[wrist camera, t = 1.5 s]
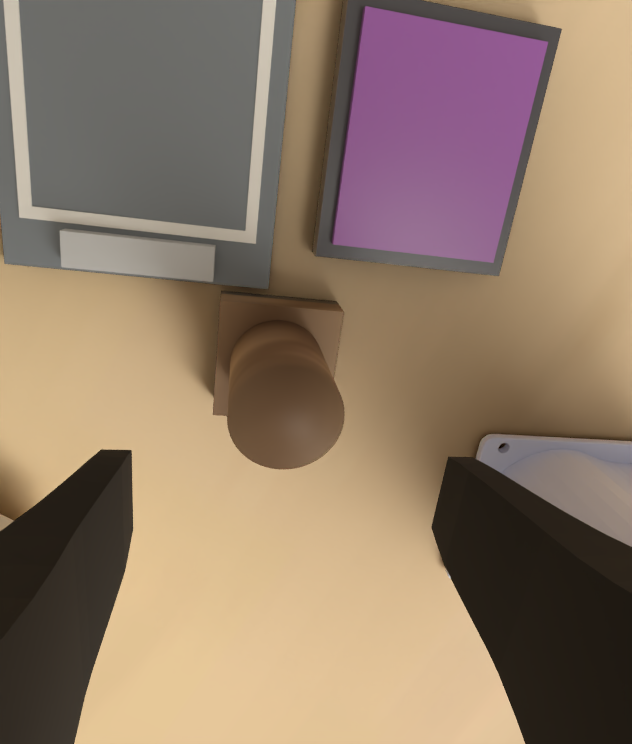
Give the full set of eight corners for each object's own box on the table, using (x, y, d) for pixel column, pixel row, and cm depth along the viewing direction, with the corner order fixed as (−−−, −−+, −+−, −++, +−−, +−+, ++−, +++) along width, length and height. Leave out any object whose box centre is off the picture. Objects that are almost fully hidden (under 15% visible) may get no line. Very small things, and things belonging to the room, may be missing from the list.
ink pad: (544, 35, 18) (567, 26, 16) (487, 271, 20) (502, 277, 19) (343, -5, 16) (351, -18, 15) (312, 251, 19) (316, 257, 18)
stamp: (336, 301, 20) (372, 353, 15) (321, 403, 22) (349, 485, 16) (221, 290, 19) (213, 340, 14) (214, 397, 21) (205, 480, 15)
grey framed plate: (302, -73, 16) (305, -87, 15) (268, 287, 19) (269, 293, 19) (-27, -145, 14) (-43, -165, 13) (8, 262, 18) (-4, 266, 17)
